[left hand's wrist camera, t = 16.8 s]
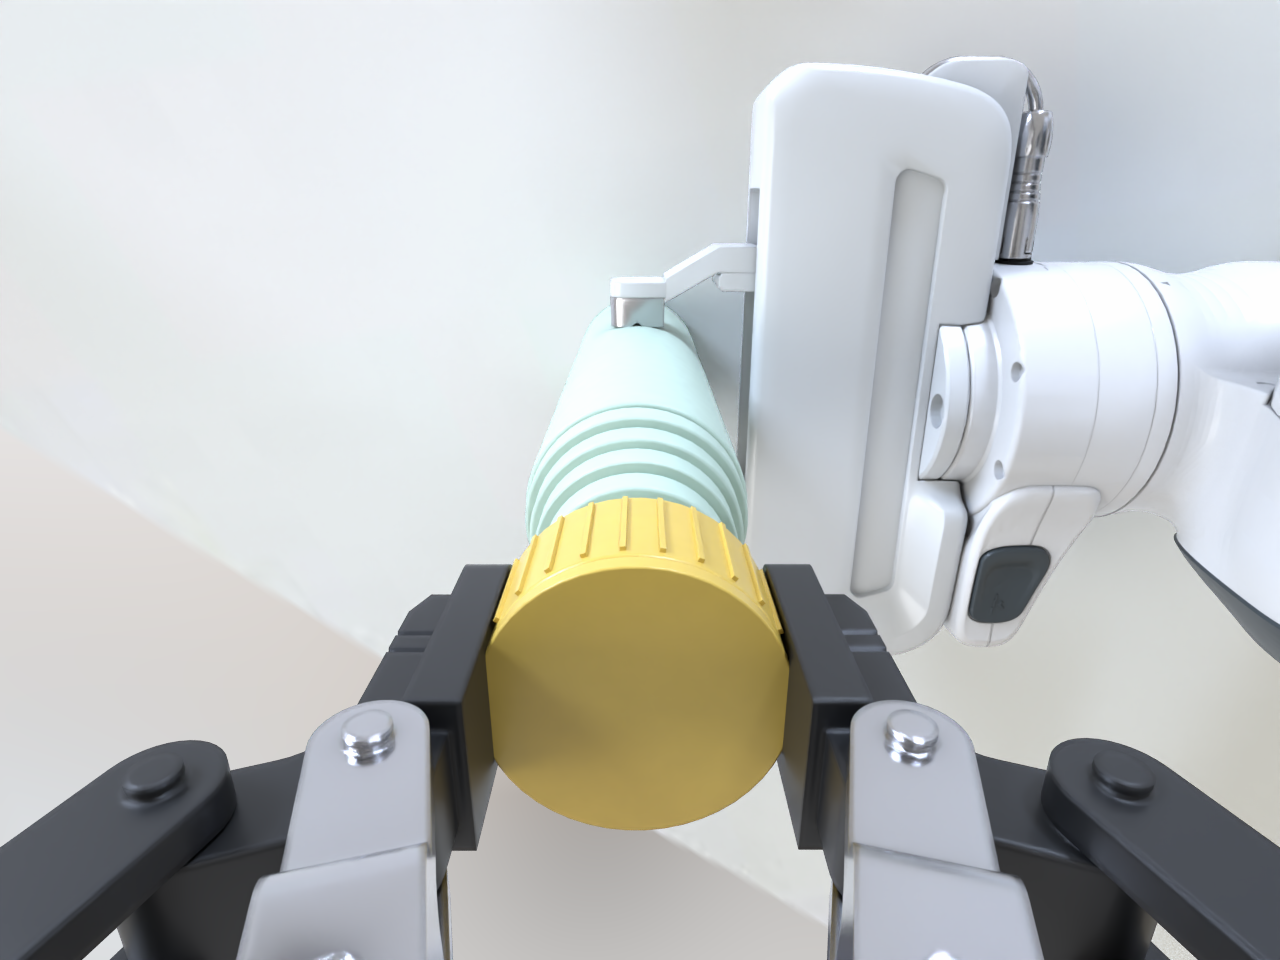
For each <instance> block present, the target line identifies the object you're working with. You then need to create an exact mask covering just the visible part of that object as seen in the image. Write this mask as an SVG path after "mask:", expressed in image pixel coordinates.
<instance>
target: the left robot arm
mask: <svg viewBox="0 0 1280 960" xmlns="http://www.w3.org/2000/svg"><path fill="white" fill-rule="evenodd" d="M511 568H512V565H465V567H464V568H463V570H462V573H461V575H460V577H459V579H458V581H457V583H456V585H455V587H454V589H453V592H452V594H451V595H430V596H429V597H428V598H426V599H425V600H424V601H422V602H421V603H420V604H419V605H417V606H416V607H415V608H413V609H412V610H411V611H409V613H408V614H407V616H406V618H405V620H404V622H403V623H402V625H401V627H400V629H399V631H398V635H396V636H395V638H394V640H393V641H392V643H391V645H390V647H389V652H386V654H385V656H384V658H383V659H382V661H381V663H380V665H379V667H378V668H377V670H376V672H375V674H374V676H373V678H372V679H371V681H370V683H369V685H368V686H367V688H366V690H365V692H364V694H363V695H362V697H361V699H360V701H359V703H358V704H357V705H355V706H352V707H350V708H347V709H345V710H342V711H341V712H339V713H337V714H335V715H333V716H332V717H330V718H329V719H327V720H326V721H325V722H323V723H322V724H321V725H320V726H319V727H318V728H317V729H316V730H315V731H314V733H313V734H312V736H311V737H310V739H309V741H308V743H307V746H306V750H305V752H302V753H300V754H297V755H294V756H291V757H288V758H284V759H280V760H276V761H272V762H267V763H263V764H259V765H254V766H249V767H245V768H240V769H236V770H231V771H230V768H229V764H228V760H227V756H226V754H225V752H224V751H223V750H222V749H221V748H220V747H218V746H217V745H215V744H212V743H210V742H205V741H196V740H187V741H177V742H171V743H166V744H163V745H159V746H155V747H152V748H150V749H147V750H144V751H142V752H139V753H137V754H135V755H133V756H131V757H129V758H127V759H125V760H123V761H121V762H120V763H118V764H117V765H115V766H113V767H112V768H110V769H109V770H108V771H106V772H105V773H103V774H102V775H101V776H99V777H98V778H96V779H95V780H94V781H92V782H91V783H89V784H88V785H87V786H85V787H84V788H82V789H81V790H80V791H78V792H77V793H75V794H74V795H73V796H71V797H70V798H69V799H67V800H66V801H64V802H63V803H62V804H60V805H59V806H57V807H56V808H55V809H53V810H52V811H50V812H49V813H48V814H46V815H45V816H43V817H42V818H41V819H39V820H38V821H37V822H35V823H34V824H32V825H31V826H30V827H28V828H27V829H25V830H24V831H23V832H21V833H20V834H18V835H17V836H16V837H14V838H13V839H11V840H10V841H9V842H7V843H6V844H4V845H3V846H2V847H0V960H82V959H83V958H84V957H86V956H87V955H88V954H89V953H90V952H91V951H92V950H93V949H94V948H95V947H96V946H97V945H99V944H100V943H101V942H102V941H103V940H104V939H105V938H106V937H107V936H108V935H109V934H110V933H112V932H113V931H114V930H115V929H116V928H117V929H118V932H119V935H120V938H121V941H122V944H123V948H122V949H121V950H120V951H118V952H117V953H116V954H115V955H114V956H113V957H112V958H111V959H110V960H453V951H452V926H451V901H450V889H449V881H448V873H447V865H448V862H449V858H450V855H451V851H476V850H477V847H478V843H479V838H480V835H481V831H482V827H483V823H484V818H485V814H486V810H487V806H488V802H489V798H490V794H491V790H492V786H493V782H494V778H495V774H496V770H497V766H498V764H497V762H496V761H495V759H494V750H493V739H492V727H491V716H490V704H489V693H488V681H487V670H486V657H485V653H486V649H487V646H488V643H489V641H490V638H491V635H492V632H493V629H494V626H495V622H493V620H494V617H495V614H496V611H497V608H498V605H499V602H500V600H501V597H502V594H503V591H504V588H505V585H506V582H507V580H508V577H509V574H510V571H511ZM763 571H764V573H765V576H766V579H767V582H768V586H769V589H770V592H771V595H772V598H773V601H774V604H775V607H776V610H777V613H778V616H779V619H780V622H781V625H782V628H783V631H784V633H783V634H780V635H781V638H782V641H783V644H784V648H785V651H786V654H787V657H788V660H789V678H788V690H787V702H786V714H785V726H784V737H783V748H782V752H781V753H780V755H779V757H778V758H777V763H778V767H779V771H780V775H781V779H782V783H783V787H784V792H785V796H786V800H787V804H788V808H789V812H790V816H791V820H792V825H793V829H794V833H795V837H796V841H797V845H798V849H799V850H823V851H824V855H825V859H826V862H827V866H828V869H829V873H830V876H831V878H832V881H831V889H830V901H829V926H828V951H827V960H1170V959H1169V958H1168V957H1167V956H1166V955H1165V954H1164V953H1163V952H1161V951H1160V950H1159V949H1158V948H1157V947H1156V946H1155V945H1154V944H1153V943H1152V942H1151V940H1152V937H1153V934H1154V931H1155V928H1156V925H1157V922H1158V923H1159V924H1160V925H1161V926H1162V927H1163V928H1164V929H1165V930H1166V931H1167V932H1168V933H1170V934H1171V935H1172V936H1173V937H1174V938H1175V939H1176V940H1177V941H1178V942H1179V943H1180V944H1181V945H1183V946H1184V947H1185V948H1186V949H1187V950H1188V951H1189V952H1190V953H1191V954H1192V955H1193V956H1194V957H1195V958H1197V959H1198V960H1280V847H1278V846H1277V845H1276V844H1274V843H1273V842H1271V841H1270V840H1269V839H1267V838H1266V837H1264V836H1263V835H1262V834H1260V833H1259V832H1257V831H1256V830H1255V829H1253V828H1252V827H1250V826H1249V825H1248V824H1246V823H1245V822H1243V821H1242V820H1241V819H1239V818H1238V817H1237V816H1235V815H1234V814H1232V813H1231V812H1230V811H1228V810H1227V809H1225V808H1224V807H1223V806H1221V805H1220V804H1218V803H1217V802H1216V801H1214V800H1213V799H1211V798H1210V797H1209V796H1207V795H1206V794H1204V793H1203V792H1202V791H1200V790H1199V789H1198V788H1196V787H1195V786H1193V785H1192V784H1191V783H1189V782H1188V781H1186V780H1185V779H1184V778H1182V777H1181V776H1179V775H1178V774H1177V773H1175V772H1174V771H1172V770H1171V769H1170V768H1168V767H1167V766H1165V765H1164V764H1162V763H1161V762H1159V761H1158V760H1156V759H1154V758H1152V757H1150V756H1149V755H1147V754H1145V753H1143V752H1140V751H1138V750H1136V749H1134V748H1131V747H1128V746H1125V745H1122V744H1119V743H1115V742H1111V741H1107V740H1101V739H1092V738H1078V739H1072V740H1067V741H1065V742H1062V743H1060V744H1059V745H1057V746H1056V747H1055V748H1054V749H1053V751H1052V752H1051V755H1050V758H1049V762H1048V766H1047V770H1043V769H1038V768H1034V767H1029V766H1025V765H1020V764H1016V763H1011V762H1007V761H1002V760H998V759H994V758H990V757H986V756H983V755H980V754H977V753H975V750H974V746H973V743H972V740H971V739H970V737H969V735H968V734H967V733H966V731H965V730H964V729H963V728H962V727H961V726H960V725H959V724H958V723H957V722H955V721H954V720H953V719H951V718H950V717H948V716H947V715H945V714H943V713H941V712H939V711H938V710H935V709H933V708H930V707H928V706H925V705H922V704H918V703H917V702H916V700H915V699H914V697H913V695H912V693H911V691H910V689H909V688H908V686H907V684H906V682H905V680H904V678H903V677H902V675H901V673H900V671H899V669H898V667H897V666H896V664H895V662H894V660H893V658H892V656H891V655H890V653H889V652H887V649H886V648H887V647H886V645H885V644H884V642H883V640H882V638H881V636H880V635H878V631H877V629H876V627H875V625H874V623H873V622H872V620H871V618H870V616H869V614H868V612H867V611H866V610H865V609H863V608H862V607H861V606H859V605H858V604H857V603H855V602H854V601H853V600H851V599H850V598H849V597H848V596H846V595H845V594H824V592H823V589H822V587H821V585H820V583H819V581H818V579H817V576H816V574H815V572H814V570H813V568H812V566H811V565H810V564H764V566H763Z"/></svg>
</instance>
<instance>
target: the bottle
mask: <svg viewBox="0 0 1280 960" xmlns="http://www.w3.org/2000/svg"><path fill="white" fill-rule="evenodd" d="M623 496H628V498H651V499H657V498H658V497H660V498H663V500H666V501H670V502H674V503H678V504H682V505H684V506H687V507H689V508H690V507H691V506H693V507H695V508H696V510H697V511H699V512H701V513H703V514H705V515H707V516H708V517H710V518H712V519H714V520H715V521H717V522H718V523H720V522H723V523H724V524H725V526H726V529H728V530H729V531H730V532H731V533H732V534H733V535H734V536H735V537H736V538H737V539H738V540H739V541H740V542H741V543H742V544H744V542H745V539H746V534H747V527H748V508H747V491H746V484H745V480H744V476H743V473H742V470H741V467H740V464H739V462H738V459H737V456H736V454H735V451H734V448H733V446H732V443H731V441H730V438H729V435H728V433H727V430H726V427H725V425H724V422H723V419H722V417H721V414H720V411H719V409H718V406H717V404H716V401H715V398H714V396H713V393H712V390H711V388H710V385H709V382H708V380H707V377H706V375H705V372H704V369H703V367H702V364H701V361H700V359H699V356H698V353H697V351H696V348H695V345H694V343H693V340H692V338H691V335H690V333H689V330H688V328H687V327H686V325H685V323H684V322H683V321H682V319H681V318H680V317H679V316H678V315H677V314H676V313H675V312H674V311H673V310H671V309H670V308H668V307H667V306H664V327H643V326H642V325H640V324H639V323H636V324H634V325H633V326H632V327H614V326H611V305H610V306H609V307H607V308H606V309H604V310H603V311H602V312H600V313H599V314H598V315H597V316H596V317H595V319H594V320H593V321H592V322H591V324H590V325H589V327H588V329H587V331H586V333H585V336H584V338H583V341H582V343H581V346H580V348H579V351H578V354H577V356H576V359H575V361H574V364H573V366H572V369H571V371H570V374H569V377H568V379H567V382H566V384H565V387H564V389H563V392H562V394H561V397H560V399H559V402H558V405H557V407H556V410H555V412H554V415H553V417H552V420H551V422H550V425H549V428H548V430H547V433H546V435H545V438H544V440H543V443H542V445H541V448H540V450H539V453H538V456H537V458H536V461H535V463H534V466H533V469H532V472H531V475H530V478H529V482H528V488H527V494H526V518H525V523H526V531H527V537H528V541H529V544H530V543H531V540H532V537H533V536H534V535H535V534H536V535H537V536H539V535H540V534H541V533H542V532H543V531H544V530H545V529H546V528H547V527H549V526H550V525H552V524H553V523H554V522H556V521H557V518H558V517H559V516H561V515H563V517H564V516H566V515H568V514H570V513H571V512H573V511H575V510H578V509H581V508H583V507H586V506H588V503H591V502H594V504H595V503H599V502H603V501H607V500H613V499H621V498H622V497H623Z"/></svg>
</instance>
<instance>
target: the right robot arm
mask: <svg viewBox="0 0 1280 960" xmlns="http://www.w3.org/2000/svg"><path fill="white" fill-rule="evenodd" d="M1025 94H1026V97H1027V100H1028V109H1029V110H1028V111H1026V112H1023V106H1024V100H1025ZM1052 135H1053V113H1052V112H1051V111H1047V110H1046V111H1043V99H1042V92H1041V89H1040V86H1039V83H1038V81H1037V80H1036V78H1035V76H1034V75H1033V74H1032V72H1031V71H1030V70H1029V69H1028V68H1027V67H1026V66H1025V65H1024V64H1023V63H1021V62H1019V61H1017V60H1015V59H1012V58H1008V57H1004V56H956V57H951V58H947V59H944V60H942V61H939V62H938V63H936V64H934V65H932V66H931V67H929V68H928V69H927V70H926V71H924V72H923V73H922V74H918V73H912V72H907V71H901V70H894V69H887V68H880V67H872V66H863V65H853V64H837V63H801V64H797V65H794V66H791V67H789V68H787V69H786V70H784V71H783V72H782V73H780V74H779V75H778V76H776V77H775V78H774V79H773V80H772V81H771V82H770V83H769V84H768V85H767V86H766V88H765V89H764V90H763V91H762V92H761V93H760V95H759V96H758V97H757V98H756V100H755V102H754V105H753V110H752V127H751V148H750V170H749V191H748V213H747V234H746V243H713V244H711V245H709V246H708V247H706V248H704V249H703V250H701V251H699V252H698V253H696V254H694V255H693V256H691V257H689V258H688V259H686V260H684V261H683V262H681V263H679V264H678V265H676V266H674V267H673V268H671V269H669V270H668V271H666V272H664V276H663V277H617V278H611V280H610V303H611V326H614V327H632V326H633V325H634V324H636V323H639V324H640V325H642V326H643V327H664V306H665V302H668V301H670V300H671V299H673V298H675V297H677V296H678V295H680V294H682V293H684V292H685V291H687V290H689V289H690V288H692V287H694V286H696V285H697V284H699V283H701V282H703V281H704V280H706V279H708V278H710V277H711V276H713V282H714V283H715V284H716V286H717V287H718V288H719V289H720V290H721V291H726V292H744V299H743V321H742V342H741V364H740V385H739V407H738V429H737V450H736V456H737V459H738V462H739V464H740V467H741V470H742V473H743V476H744V480H745V484H746V491H747V508H748V527H747V534H746V539H745V542H744V544H745V543H746V544H747V545H748V547H749V550H750V554H751V556H752V558H753V560H754V562H755V563H756V565H757V567H758V569H759V570H760V569H763V566H764V564H810V565H811V566H812V568H813V570H814V572H815V574H816V576H817V579H818V581H819V583H820V585H821V587H822V589H823V592H824V594H845V595H846V596H848V597H849V598H850V599H851V600H853V601H854V602H855V603H857V604H858V605H859V606H861V607H862V608H863V609H865V610H866V611H867V612H868V614H869V616H870V618H871V620H872V622H873V623H874V625H875V627H876V629H877V631H878V635H880V636H881V638H882V640H883V642H884V644H885V645H886V647H887V648H886V649H887V652H889V653H890V655H896V654H900V653H904V652H907V651H910V650H913V649H915V648H917V647H919V646H921V645H923V644H925V643H926V642H928V641H929V640H930V639H932V638H933V637H934V636H935V635H936V634H937V633H938V631H939V630H940V629H941V627H942V626H943V625H944V626H945V627H946V628H947V629H948V630H949V631H950V633H951V634H952V635H953V636H954V637H955V638H956V639H957V640H958V641H959V642H961V643H962V644H965V645H968V646H975V647H992V646H998V645H1002V644H1004V643H1006V642H1007V641H1009V640H1010V639H1011V638H1012V637H1013V636H1014V635H1015V634H1016V632H1017V631H1018V629H1019V628H1020V626H1021V625H1022V623H1023V621H1024V620H1025V618H1026V616H1027V614H1028V613H1029V611H1030V609H1031V607H1032V606H1033V604H1034V602H1035V600H1036V599H1037V597H1038V595H1039V594H1040V592H1041V590H1042V589H1043V587H1044V585H1045V584H1046V582H1047V581H1048V579H1049V577H1050V576H1051V574H1052V573H1053V571H1054V570H1055V568H1056V567H1057V565H1058V564H1059V562H1060V561H1061V559H1062V558H1063V556H1064V555H1065V554H1066V552H1067V551H1068V549H1069V548H1070V547H1071V545H1072V544H1073V542H1074V541H1075V540H1076V539H1077V537H1078V536H1079V535H1080V534H1081V532H1082V531H1083V530H1084V529H1085V527H1086V526H1087V525H1088V524H1089V522H1090V521H1091V519H1092V518H1093V517H1101V516H1106V515H1110V514H1115V513H1120V512H1126V511H1144V512H1149V513H1152V514H1155V515H1157V516H1160V517H1162V518H1165V519H1167V520H1168V521H1170V522H1171V523H1172V524H1173V526H1174V527H1175V529H1176V531H1177V533H1176V534H1175V535H1174V540H1175V542H1176V544H1177V546H1178V547H1179V549H1180V551H1181V552H1182V554H1183V555H1184V557H1185V558H1186V560H1187V561H1188V562H1189V564H1190V565H1191V566H1192V567H1193V569H1194V570H1195V571H1196V572H1197V574H1198V575H1199V576H1200V577H1201V579H1202V580H1203V581H1204V582H1205V583H1206V585H1207V586H1208V587H1209V588H1210V589H1211V590H1212V592H1213V593H1214V594H1215V595H1216V596H1217V597H1218V598H1219V600H1220V601H1221V602H1222V603H1223V604H1224V605H1225V607H1226V608H1227V609H1228V610H1229V611H1230V613H1231V614H1232V615H1233V616H1234V617H1235V618H1236V620H1237V621H1238V622H1239V623H1240V625H1241V626H1242V627H1243V628H1244V630H1245V631H1246V632H1247V633H1248V634H1249V635H1250V636H1251V637H1252V639H1253V640H1254V641H1255V642H1256V643H1257V644H1258V645H1260V646H1261V647H1262V648H1263V649H1264V650H1265V651H1266V652H1267V653H1268V654H1269V655H1271V656H1272V657H1273V658H1274V659H1275V660H1277V661H1278V662H1279V663H1280V261H1243V262H1230V263H1223V264H1218V265H1214V266H1210V267H1206V268H1203V269H1200V270H1196V271H1193V272H1189V273H1182V274H1173V273H1166V272H1162V271H1159V270H1156V269H1153V268H1150V267H1147V266H1143V265H1139V264H1134V263H1128V262H1033V261H1031V255H1032V250H1033V244H1034V238H1035V232H1036V226H1037V221H1038V215H1039V206H1040V202H1039V200H1040V193H1039V191H1040V188H1041V184H1040V181H1041V179H1042V174H1041V173H1042V172H1043V167H1044V162H1045V157H1048V154H1049V151H1050V147H1051V142H1052Z"/></svg>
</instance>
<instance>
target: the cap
mask: <svg viewBox="0 0 1280 960" xmlns="http://www.w3.org/2000/svg"><path fill="white" fill-rule="evenodd" d="M493 622H495V626H494V629H493V632H492V635H491V638H490V641H489V643H488V646H487V649H486V653H485V657H486V670H487V681H488V693H489V704H490V716H491V727H492V739H493V750H494V759H495V761H496V762H497V764H498V765H499V767H500V768H501V769H502V770H503V772H504V773H505V774H506V775H507V777H508V778H509V779H510V780H511V781H512V782H513V783H514V784H515V785H516V786H517V787H519V788H520V789H521V790H522V791H523V792H524V793H526V794H527V795H528V796H530V797H531V798H532V799H534V800H535V801H536V802H538V803H540V804H541V805H543V806H545V807H547V808H548V809H550V810H552V811H554V812H556V813H558V814H561V815H563V816H565V817H567V818H570V819H573V820H576V821H579V822H582V823H586V824H589V825H594V826H598V827H603V828H609V829H619V830H653V829H663V828H669V827H674V826H679V825H683V824H687V823H690V822H693V821H696V820H699V819H702V818H705V817H707V816H709V815H711V814H714V813H716V812H718V811H720V810H722V809H724V808H725V807H727V806H729V805H731V804H732V803H734V802H736V801H737V800H738V799H740V798H741V797H742V796H744V795H745V794H746V793H748V792H749V791H750V790H751V789H752V788H753V787H754V786H755V785H756V784H757V783H758V782H759V781H761V780H762V779H763V777H764V776H765V775H766V774H767V772H768V771H769V770H770V769H771V767H772V766H773V765H774V763H775V762H776V760H777V758H778V757H779V755H780V753H781V752H782V748H783V737H784V726H785V714H786V702H787V690H788V678H789V660H788V657H787V654H786V651H785V648H784V644H783V641H782V638H781V635H780V634H783V633H784V631H783V628H782V625H781V622H780V619H779V616H778V613H777V610H776V607H775V604H774V601H773V598H772V595H771V592H770V589H769V586H768V582H767V579H766V576H765V573H764V571H763V569H760V570H759V569H758V567H757V565H756V563H755V562H754V560H753V558H752V556H751V554H750V550H749V547H748V545H747V544H746V543H745V544H742V543H741V542H740V541H739V540H738V539H737V538H736V537H735V536H734V535H733V534H732V533H731V532H730V531H729V530H728V529H726V526H725V524H724V523H723V522H720V523H718V522H717V521H715V520H714V519H712V518H710V517H708V516H707V515H705V514H703V513H701V512H699V511H697V510H696V508H695V507H693V506H691V507H690V508H689V507H687V506H684V505H682V504H678V503H674V502H670V501H666V500H663V498H660V497H658V498H657V499H651V498H628V496H623V497H622V498H621V499H613V500H607V501H603V502H599V503H595V504H594V502H591V503H588V506H586V507H583V508H581V509H578V510H575V511H573V512H571V513H570V514H568V515H566V516H564V517H563V515H561V516H559V517H558V518H557V521H556V522H554V523H553V524H552V525H550V526H549V527H547V528H546V529H545V530H544V531H543V532H542V533H541V534H540V535H539V536H537V535H536V534H535V535H534V536H533V537H532V540H531V543H530V545H529V546H528V548H527V549H526V550H525V551H524V553H523V554H522V556H521V558H520V559H519V560H518V559H515V561H514V563H513V565H512V568H511V571H510V574H509V577H508V580H507V582H506V585H505V588H504V591H503V594H502V597H501V600H500V602H499V605H498V608H497V611H496V614H495V617H494V620H493Z"/></svg>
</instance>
